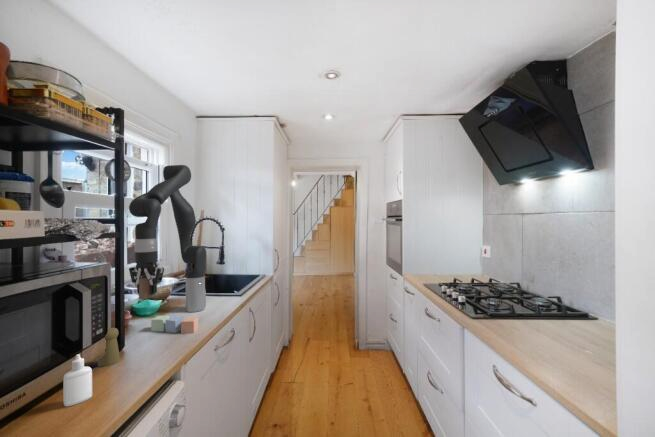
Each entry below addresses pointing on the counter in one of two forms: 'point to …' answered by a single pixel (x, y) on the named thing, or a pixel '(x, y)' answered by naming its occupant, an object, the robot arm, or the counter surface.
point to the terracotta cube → (189, 325)
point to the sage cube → (159, 323)
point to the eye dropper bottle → (77, 383)
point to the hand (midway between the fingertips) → (146, 293)
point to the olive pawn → (110, 349)
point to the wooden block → (145, 288)
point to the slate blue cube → (174, 324)
